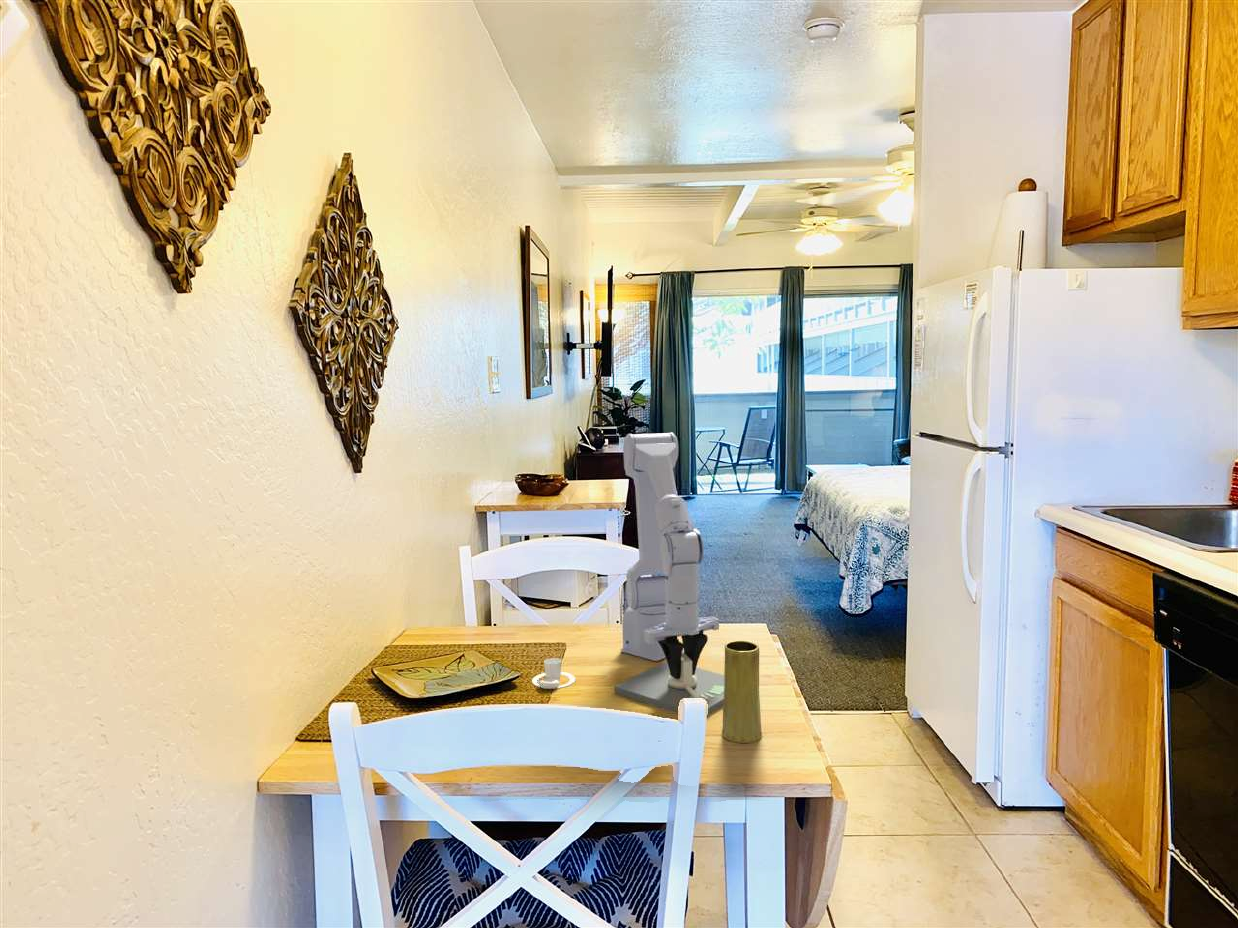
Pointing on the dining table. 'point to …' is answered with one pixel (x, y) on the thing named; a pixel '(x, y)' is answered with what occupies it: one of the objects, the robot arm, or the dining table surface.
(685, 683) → the knob
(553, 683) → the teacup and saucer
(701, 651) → the robot arm
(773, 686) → the dining table surface
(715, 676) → the dial board
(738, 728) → the vase
